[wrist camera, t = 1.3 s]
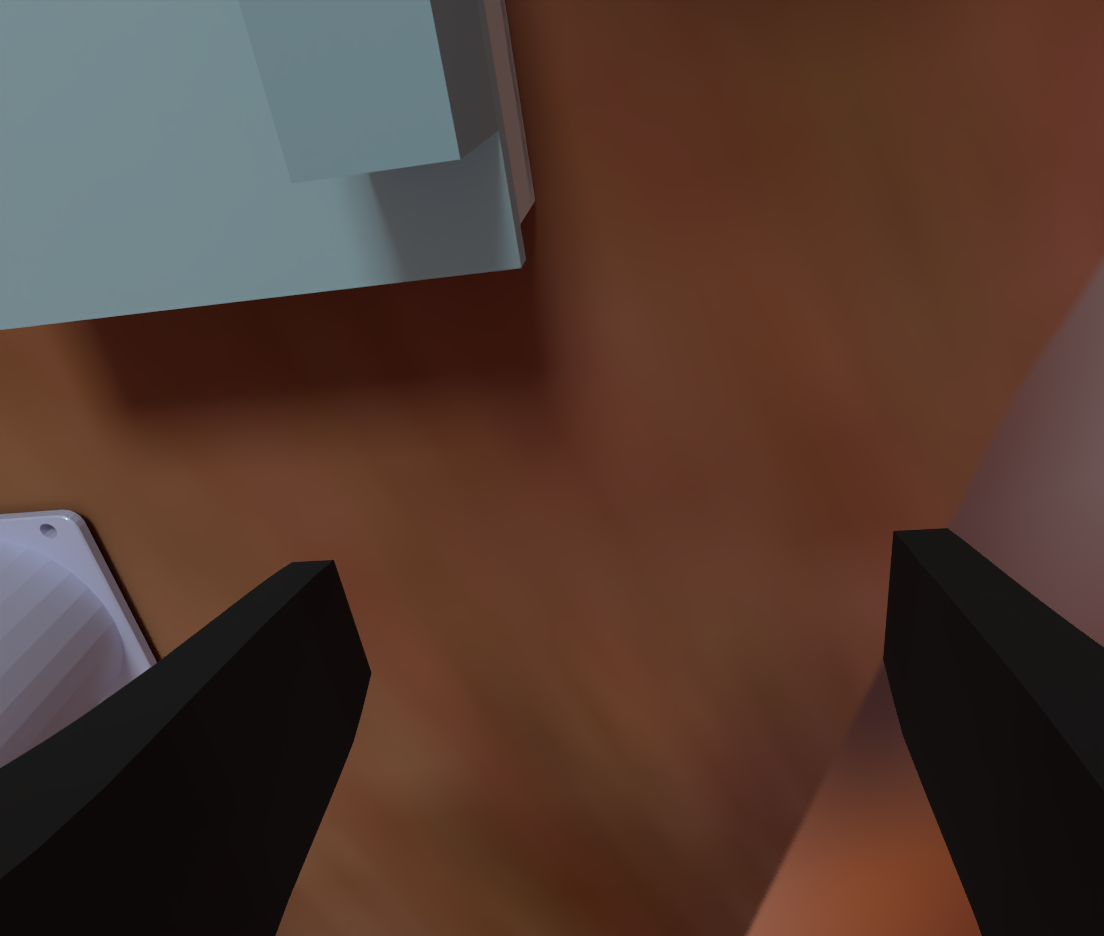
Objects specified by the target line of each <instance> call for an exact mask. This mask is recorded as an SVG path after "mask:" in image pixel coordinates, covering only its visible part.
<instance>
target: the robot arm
mask: <svg viewBox="0 0 1104 936" xmlns="http://www.w3.org/2000/svg"><path fill="white" fill-rule="evenodd" d="M50 525H51V526H53V527H54V528H55V529H56V530H55V529H54V528H52V527H51V526H50ZM883 660H884V664H885V668H886V672H887V676H888V680H889V684H890V688H891V692H892V696H893V700H894V704H895V708H896V711H897V715H898V719H899V723H900V726H901V730H902V734H903V736H904V739H905V742H906V744H907V747H908V750H909V752H910V754H911V757H912V760H913V762H914V765H915V767H916V770H917V772H918V775H919V778H920V780H921V783H922V785H923V788H924V790H925V793H926V795H927V798H928V800H929V803H930V805H931V808H932V810H933V813H934V815H935V818H936V820H937V823H938V825H939V828H940V830H941V833H942V835H943V838H944V840H945V843H946V845H947V847H948V850H949V852H950V855H951V858H952V860H953V863H954V865H955V868H956V870H957V873H958V875H959V877H960V880H961V882H962V885H963V888H964V890H965V893H966V895H967V897H968V900H969V902H970V905H971V907H972V910H973V913H974V915H975V918H976V920H977V923H978V926H979V929H980V932H981V935H982V936H1104V647H1103V646H1101V645H1099V644H1098V643H1097V642H1095V641H1094V640H1093V639H1091V638H1090V637H1089V636H1087V635H1086V634H1084V633H1083V632H1082V631H1080V630H1079V629H1077V628H1076V627H1075V626H1073V625H1072V624H1071V623H1069V622H1068V621H1067V620H1065V619H1064V618H1063V617H1061V616H1060V615H1059V614H1057V613H1056V612H1055V611H1053V610H1052V609H1051V608H1049V607H1048V606H1047V605H1045V604H1044V603H1043V602H1041V601H1040V600H1039V599H1038V598H1036V597H1035V596H1034V595H1032V594H1031V593H1030V592H1028V591H1027V590H1026V589H1025V588H1023V587H1022V586H1021V585H1020V584H1018V583H1017V582H1016V581H1014V580H1013V579H1012V578H1011V577H1009V576H1008V575H1007V574H1005V573H1004V572H1003V571H1002V570H1000V569H999V568H998V567H997V566H995V565H994V564H993V563H992V562H990V561H989V560H988V559H986V558H985V557H984V556H982V555H981V554H980V553H979V552H978V551H976V550H975V549H973V547H971V546H970V545H969V544H968V543H966V542H965V541H963V540H962V539H961V538H960V537H958V536H957V535H956V534H954V533H953V532H952V531H950V530H949V529H948V528H943V529H924V530H905V531H893V543H892V556H891V568H890V581H889V593H888V606H887V618H886V631H885V643H884V655H883ZM370 677H371V670H370V667H369V664H368V661H367V658H366V655H365V652H364V649H363V646H362V643H361V640H360V637H359V634H358V631H357V628H356V625H355V622H354V619H353V616H352V613H351V610H350V607H349V604H348V601H347V598H346V595H345V592H344V589H343V586H342V583H341V580H340V577H339V574H338V571H337V568H336V565H335V562H334V560H326V561H307V562H292V563H290V564H289V565H287V566H286V567H284V568H283V569H281V570H279V571H278V572H277V573H275V574H274V575H272V576H271V577H269V578H268V579H267V580H265V581H264V582H263V583H261V584H260V585H258V586H257V587H256V588H254V589H253V590H252V591H250V592H249V593H248V594H246V595H245V596H244V597H243V598H241V599H240V600H239V601H237V602H236V603H235V604H233V605H232V606H231V607H229V608H228V609H227V610H226V611H224V612H223V613H222V614H220V615H219V616H218V617H217V618H215V619H214V620H213V621H211V622H210V623H209V624H207V625H206V626H205V627H203V628H202V629H201V630H200V631H198V632H197V633H196V634H194V635H193V636H192V637H190V638H189V639H188V640H186V641H185V642H184V643H183V644H181V645H180V646H179V647H177V648H176V649H175V650H173V651H172V652H171V653H169V654H168V655H167V656H165V657H164V658H163V659H161V660H160V661H159V662H156V660H155V658H154V656H153V654H152V652H151V650H150V648H149V646H148V644H147V642H146V640H145V638H144V636H143V634H142V632H141V630H140V628H139V626H138V624H137V623H136V621H135V619H134V617H133V615H132V613H131V611H130V609H129V607H128V605H127V603H126V601H125V599H124V597H123V595H122V593H121V591H120V589H119V587H118V585H117V583H116V582H115V580H114V578H113V576H112V574H111V572H110V570H109V568H108V566H107V564H106V562H105V560H104V558H103V556H102V554H101V552H100V550H99V548H98V546H97V544H96V542H95V541H94V539H93V537H92V535H91V533H90V531H89V529H88V527H87V525H86V523H85V521H84V520H83V519H82V517H81V516H79V515H78V514H77V513H75V512H72V511H70V510H53V511H39V512H25V513H12V514H0V936H275V935H276V932H277V930H278V927H279V924H280V922H281V919H282V916H283V913H284V911H285V908H286V905H287V903H288V900H289V898H290V895H291V893H292V890H293V888H294V886H295V883H296V881H297V878H298V876H299V873H300V871H301V869H302V866H303V864H304V861H305V859H306V857H307V854H308V852H309V849H310V847H311V845H312V842H313V840H314V837H315V835H316V833H317V830H318V828H319V825H320V823H321V821H322V818H323V816H324V813H325V811H326V809H327V806H328V804H329V801H330V799H331V797H332V794H333V792H334V789H335V787H336V784H337V782H338V779H339V777H340V774H341V772H342V769H343V767H344V764H345V762H346V760H347V757H348V754H349V752H350V749H351V747H352V744H353V742H354V738H355V735H356V731H357V727H358V724H359V720H360V717H361V713H362V709H363V705H364V701H365V697H366V693H367V689H368V685H369V681H370Z"/></svg>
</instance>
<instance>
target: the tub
mask: <svg viewBox="0 0 1104 936" xmlns="http://www.w3.org/2000/svg"><path fill="white" fill-rule="evenodd" d="M484 5H485V11H486V17H487V23H488V29H489V35H490V41H491V47H492V54H493V60H494V66H495V72H496V78H497V84H498V90H499V97H500V103H501V109H502V115H503V121H504V127H505V133H506V139H507V146H508V152H509V158H510V164H511V170H512V176H513V182H514V189H515V195H516V201H517V207H518V213H519V219H520V224H521V222H522V221H523V219H524V218H525V216H526V214H527V213H528V211H529V210H530V208H531V206H532V205H533V203H534V202H535V196H534V189H533V183H532V176H531V170H530V163H529V156H528V150H527V143H526V137H525V130H524V124H523V117H522V110H521V104H520V97H519V91H518V84H517V78H516V71H515V64H514V58H513V51H512V45H511V38H510V32H509V25H508V18H507V12H506V5H505V0H484Z"/></svg>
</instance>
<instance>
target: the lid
mask: <svg viewBox="0 0 1104 936" xmlns="http://www.w3.org/2000/svg"><path fill="white" fill-rule="evenodd" d="M525 260H526V256H525V250H524V244H523V238H522V231H521V225H520V219H519V213H518V207H517V201H516V195H515V189H514V182H513V176H512V170H511V164H510V158H509V152H508V146H507V139H506V133H505V127H504V121H503V115H502V109H501V103H500V97H499V90H498V84H497V78H496V72H495V66H494V60H493V54H492V47H491V41H490V35H489V29H488V23H487V17H486V11H485V5H484V0H0V330H3V329H12V328H20V327H29V326H37V325H45V324H54V323H62V322H71V321H79V320H88V319H96V318H105V317H113V316H121V315H130V314H138V313H147V312H155V311H164V310H172V309H181V308H189V307H197V306H206V305H214V304H223V303H231V302H240V301H248V300H256V299H265V298H273V297H282V296H290V295H299V294H307V293H316V292H324V291H332V290H341V289H349V288H358V287H366V286H375V285H383V284H392V283H400V282H408V281H417V280H425V279H434V278H442V277H451V276H459V275H468V274H476V273H484V272H493V271H501V270H510V269H518V268H522V266H523V264H524V262H525Z"/></svg>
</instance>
